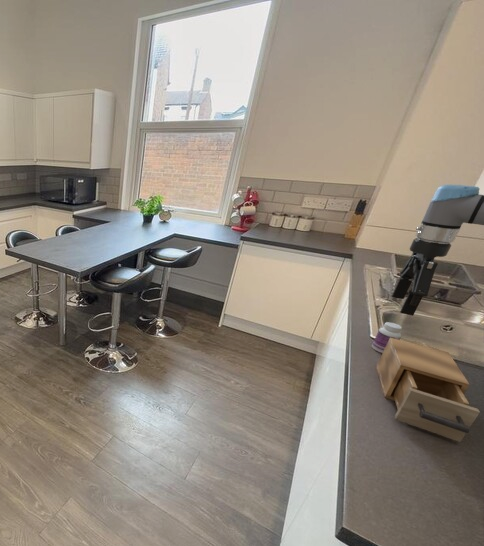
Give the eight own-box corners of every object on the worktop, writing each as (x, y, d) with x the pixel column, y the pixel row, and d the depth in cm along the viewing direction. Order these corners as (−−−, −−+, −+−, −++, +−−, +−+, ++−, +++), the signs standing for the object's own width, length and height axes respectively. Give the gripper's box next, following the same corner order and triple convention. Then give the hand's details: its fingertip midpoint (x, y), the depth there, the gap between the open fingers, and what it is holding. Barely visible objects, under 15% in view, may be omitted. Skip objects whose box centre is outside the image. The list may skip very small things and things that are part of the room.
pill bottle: (392, 357, 100) (404, 331, 96) (370, 349, 104) (381, 324, 100) (393, 350, 103) (405, 325, 100) (372, 343, 107) (383, 319, 103)
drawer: (467, 457, 66) (489, 426, 63) (399, 431, 72) (415, 402, 69) (440, 402, 81) (457, 375, 77) (385, 385, 86) (398, 359, 83)
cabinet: (448, 418, 77) (469, 384, 73) (384, 397, 83) (400, 364, 79) (430, 383, 89) (448, 352, 85) (375, 367, 95) (389, 337, 91)
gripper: (405, 230, 101) (379, 289, 109) (425, 248, 82) (392, 317, 90) (438, 234, 97) (409, 294, 105) (468, 253, 78) (429, 326, 86)
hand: (401, 305), depth 97 cm, fingers open, 13 cm apart
